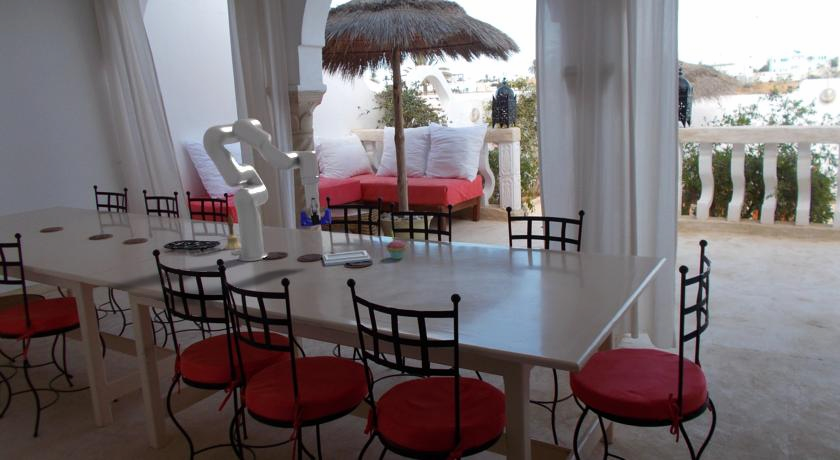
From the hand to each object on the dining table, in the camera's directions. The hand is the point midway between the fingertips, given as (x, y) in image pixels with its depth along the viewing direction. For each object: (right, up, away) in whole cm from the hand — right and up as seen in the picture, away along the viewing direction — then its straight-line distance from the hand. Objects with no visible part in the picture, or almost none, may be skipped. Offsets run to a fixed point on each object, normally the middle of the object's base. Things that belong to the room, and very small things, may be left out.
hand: (315, 223), depth 270 cm
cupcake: (+34, -15, +2) cm, 37 cm away
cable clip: (0, -1, 0) cm, 1 cm away
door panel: (+13, -15, +3) cm, 20 cm away
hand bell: (-45, -12, +36) cm, 59 cm away
